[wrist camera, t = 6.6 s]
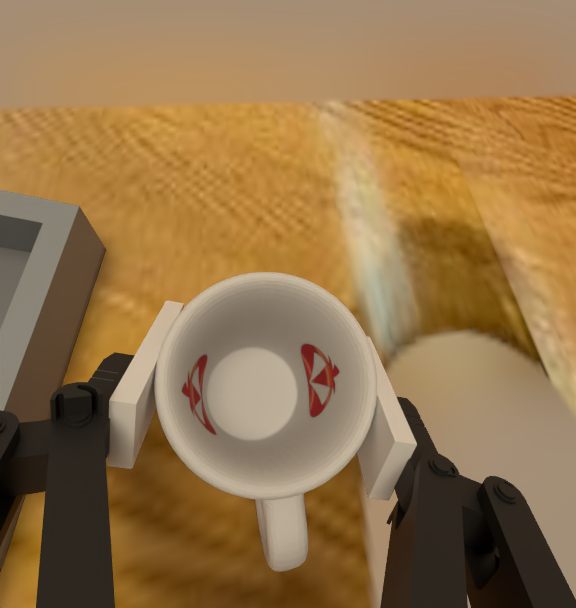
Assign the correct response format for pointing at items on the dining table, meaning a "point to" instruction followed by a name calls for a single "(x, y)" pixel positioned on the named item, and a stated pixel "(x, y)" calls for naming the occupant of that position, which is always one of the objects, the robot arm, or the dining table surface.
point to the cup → (267, 396)
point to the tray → (40, 302)
